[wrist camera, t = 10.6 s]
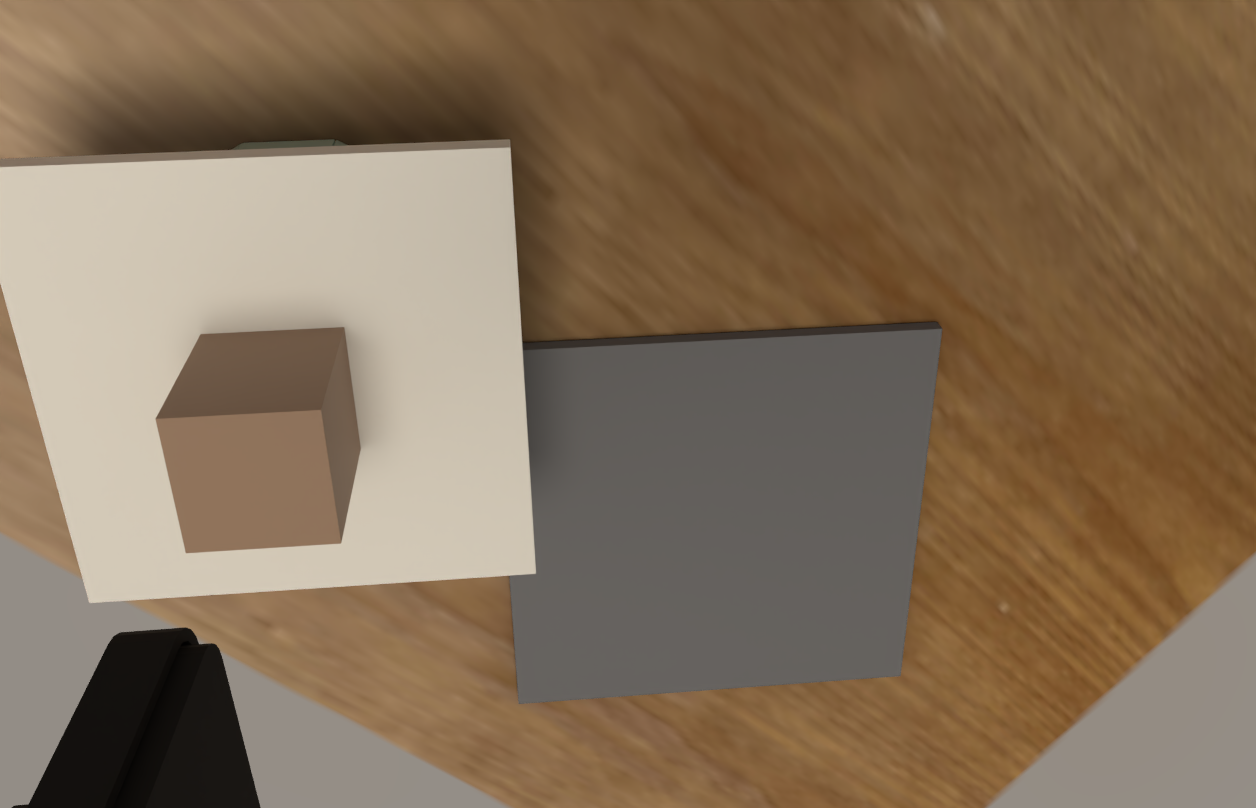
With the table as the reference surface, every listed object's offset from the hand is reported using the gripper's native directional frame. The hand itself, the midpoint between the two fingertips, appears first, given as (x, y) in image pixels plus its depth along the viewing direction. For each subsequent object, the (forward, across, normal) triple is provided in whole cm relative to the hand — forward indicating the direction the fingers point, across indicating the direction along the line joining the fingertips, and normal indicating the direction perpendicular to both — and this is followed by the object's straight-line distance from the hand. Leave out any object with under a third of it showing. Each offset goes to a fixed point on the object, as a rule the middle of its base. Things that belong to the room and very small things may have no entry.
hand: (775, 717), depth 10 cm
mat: (+31, -3, +19) cm, 36 cm away
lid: (+25, +10, +8) cm, 28 cm away
